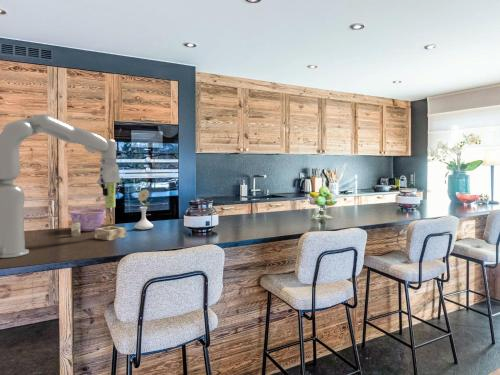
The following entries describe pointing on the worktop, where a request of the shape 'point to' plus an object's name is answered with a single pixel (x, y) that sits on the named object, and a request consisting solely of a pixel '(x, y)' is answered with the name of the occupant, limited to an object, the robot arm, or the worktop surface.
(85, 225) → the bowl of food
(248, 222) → the worktop surface
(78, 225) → the short dowel
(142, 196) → the flower in vase
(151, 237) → the worktop surface
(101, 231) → the collar block
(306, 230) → the worktop surface
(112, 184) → the tube
